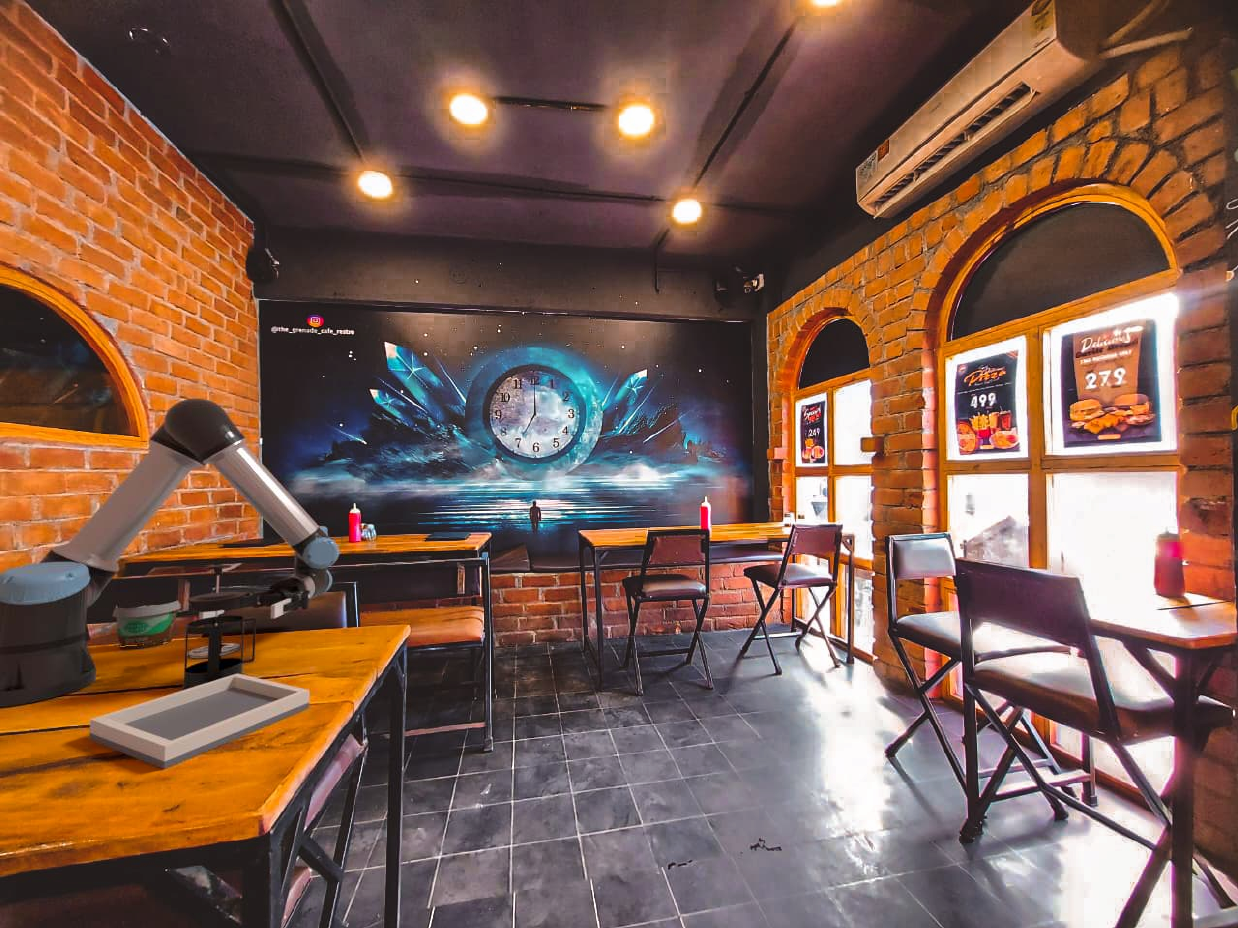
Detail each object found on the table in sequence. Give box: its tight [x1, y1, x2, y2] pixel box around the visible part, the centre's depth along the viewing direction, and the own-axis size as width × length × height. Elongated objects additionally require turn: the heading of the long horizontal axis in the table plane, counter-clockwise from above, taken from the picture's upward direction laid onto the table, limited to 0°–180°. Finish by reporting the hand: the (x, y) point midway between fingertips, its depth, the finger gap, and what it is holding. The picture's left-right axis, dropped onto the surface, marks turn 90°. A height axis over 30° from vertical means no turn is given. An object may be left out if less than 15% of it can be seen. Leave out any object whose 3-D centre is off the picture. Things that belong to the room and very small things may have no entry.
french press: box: [181, 564, 257, 691], centre depth 98 cm, size 12×9×23 cm
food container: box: [112, 599, 181, 651], centre depth 119 cm, size 12×6×10 cm, turn 123°
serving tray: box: [88, 673, 311, 770], centre depth 80 cm, size 20×20×3 cm
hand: (237, 612), depth 102 cm, fingers open, 13 cm apart
